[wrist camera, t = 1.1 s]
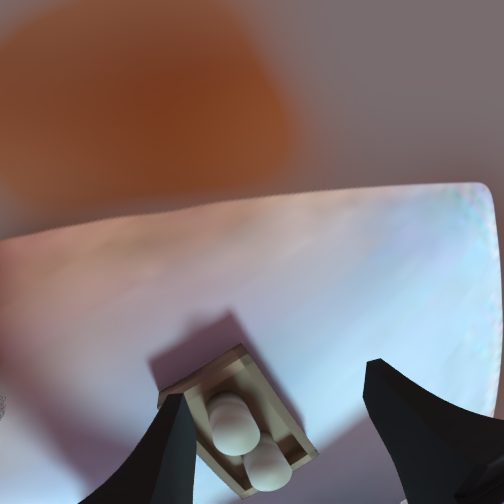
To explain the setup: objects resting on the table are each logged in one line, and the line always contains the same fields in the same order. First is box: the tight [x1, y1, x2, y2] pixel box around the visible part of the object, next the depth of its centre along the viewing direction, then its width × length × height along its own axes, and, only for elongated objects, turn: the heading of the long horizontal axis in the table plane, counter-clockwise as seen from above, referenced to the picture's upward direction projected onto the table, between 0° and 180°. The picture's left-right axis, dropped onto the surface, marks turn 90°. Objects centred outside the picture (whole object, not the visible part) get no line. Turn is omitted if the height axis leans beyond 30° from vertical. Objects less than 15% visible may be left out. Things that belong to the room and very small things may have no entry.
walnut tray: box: [157, 344, 319, 500], centre depth 22 cm, size 8×12×6 cm, turn 31°
